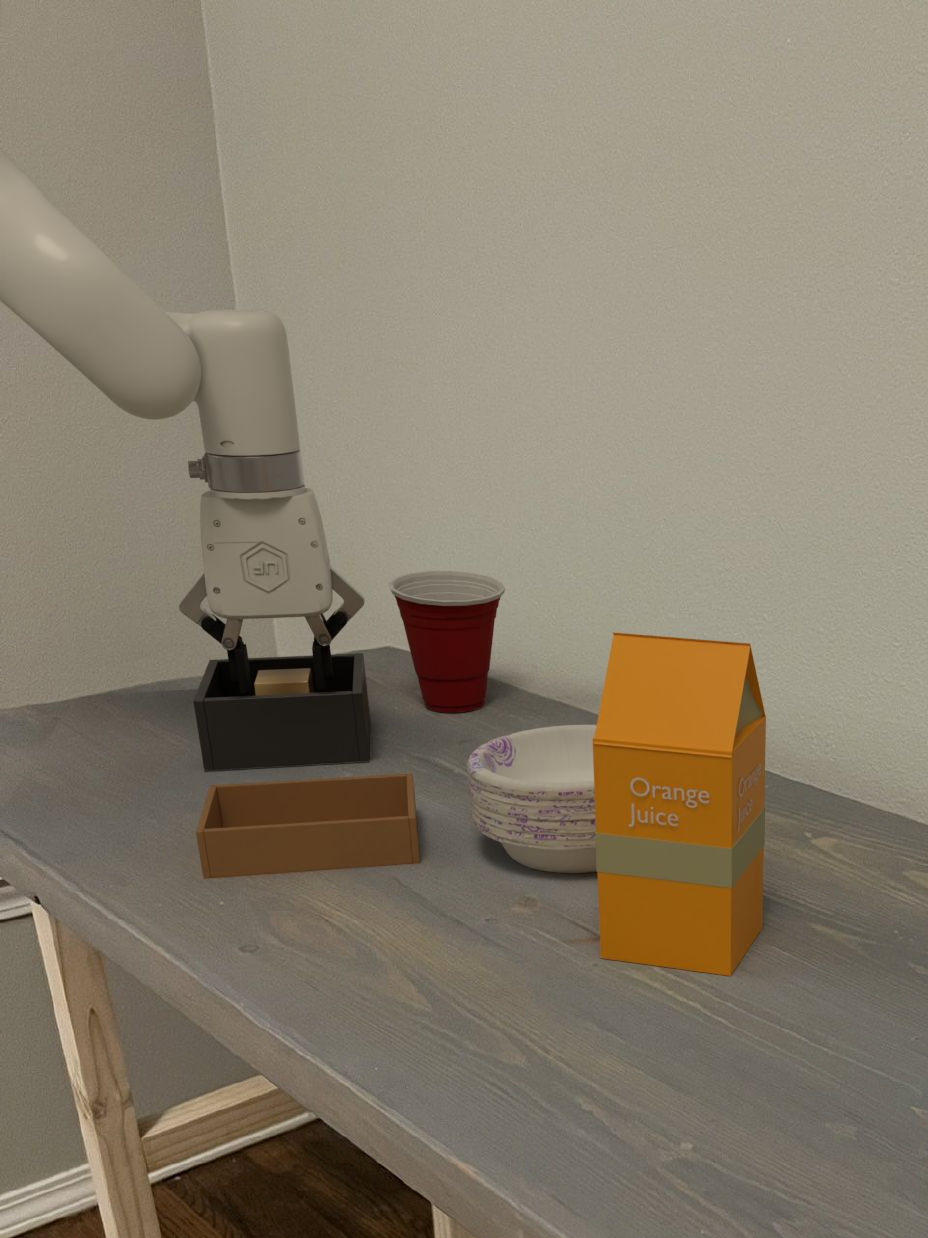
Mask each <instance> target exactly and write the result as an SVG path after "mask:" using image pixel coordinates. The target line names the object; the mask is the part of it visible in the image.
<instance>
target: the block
mask: <svg viewBox="0 0 928 1238" xmlns="http://www.w3.org/2000/svg"><path fill="white" fill-rule="evenodd" d="M254 687H255V694H256V696H258V695H279V694H300V693H313V685H312V676H311V669H310V668H304V669H280V670H259V671H258V673H257V677H256V680H255V683H254Z"/></svg>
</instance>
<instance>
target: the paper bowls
mask: <svg viewBox="0 0 928 1238" xmlns="http://www.w3.org/2000/svg"><path fill="white" fill-rule="evenodd" d="M596 726H597V724H565V725H564V724H563V725H552V726H545V727H538V728H532V729H526V730H521V731H517V732H512V733H508V734H505V735H502V736H499V737H496V738H493V739H491V740H489V741H487V742H485V743H483V744H481V745H479V746H478V747H476V748H475V749H474V750H473V752H471V754H470V755H469V757H468V759H467V761H466V769H467V779H468V780H467V782H468V784H467V785H468V793H469V801H470V803H469V804H470V806H469V807H470V809H471V810H470V811H471V817H472V822H473V825H474V827H475V829H476V830H478V832H480V833H481V834H482V835H483V836H486V837H487V838H490V839H492V840H493V841H496V842H499V843H501V845H502V847H503V848H504V850H505V851H506V854H508V856H509V857H510V858H511V859H512V860H514V861H515V862H517V863H518V864H520V865H521V866H524V867H527V868H530V869H533V870H538V871H542V872H549V873H559V874H585V873H595V872H596V873H597V869H596V842H595V833H596V819H595V793H594V766H593V739H592V738H594V737H595V731H596Z"/></svg>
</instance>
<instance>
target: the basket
mask: <svg viewBox="0 0 928 1238" xmlns="http://www.w3.org/2000/svg"><path fill="white" fill-rule="evenodd" d="M331 659H332V667H333V680H326V682H327V685H326V692H320V691H317V686H316V677H315V669H314V661H313V654H312V655H292V656H291V655H289V656H268V657H248V660H249V667H250V674H251V681H252V688H251V691H250V694H248V695H247V696H241V692H240V685H239V684H232V681H231V674H230V667H229V661H228V658H220V659H209V660H208V663H207V666H206V668H205V671H204V673H203V674H202V675H203V676H202V678H201V680H200V683H199V686H198V688H197V691H196V693H195V695H194V699H193V701H192V702H193V708H194V715H195V720H196V728H197V734H198V739H199V745H200V752H201V756H202V758H201V759H202V765H203V770H204V773H214V772H215V773H216V772H231V771H233V772H234V771H250V770H265V769H284V768H300V767H301V768H302V767H303V768H304V767H318V766H320V767H321V766H335V765H336V766H337V765H352V764H353V765H354V764H369V763H370V761H371V728H372V727H371V724H372V720H371V712H370V702H369V693H368V684H367V675H366V674H367V673H366V666H365V656H364V653H363V652H358V653H356V652H355V653H338V654H336V653H335V654H331ZM304 668H310V669H311V676H312V685H313V693H300V694H279V695H258V696H256V694H255V687H254V683H255V680H256V677H257V673H258V671H259V670H280V669H304Z"/></svg>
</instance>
